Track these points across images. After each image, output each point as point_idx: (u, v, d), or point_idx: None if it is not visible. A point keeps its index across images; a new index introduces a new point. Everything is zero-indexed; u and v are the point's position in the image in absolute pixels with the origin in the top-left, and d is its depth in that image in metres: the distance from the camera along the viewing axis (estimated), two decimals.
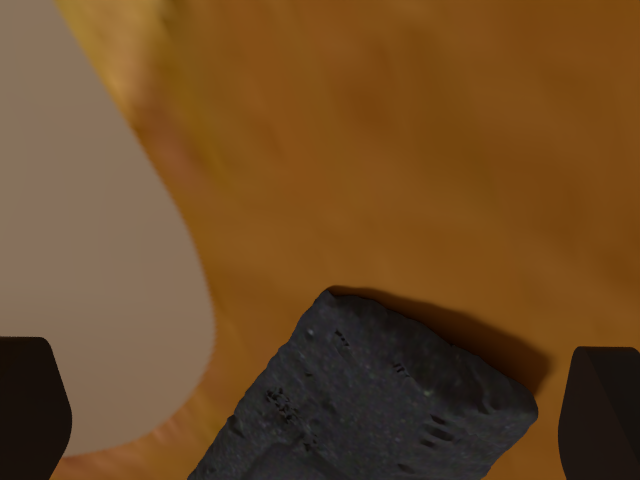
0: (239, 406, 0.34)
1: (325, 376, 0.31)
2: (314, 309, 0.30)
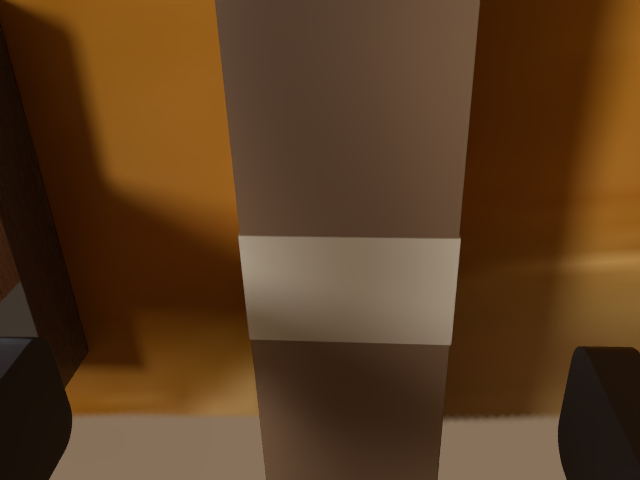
0: None
1: None
2: None
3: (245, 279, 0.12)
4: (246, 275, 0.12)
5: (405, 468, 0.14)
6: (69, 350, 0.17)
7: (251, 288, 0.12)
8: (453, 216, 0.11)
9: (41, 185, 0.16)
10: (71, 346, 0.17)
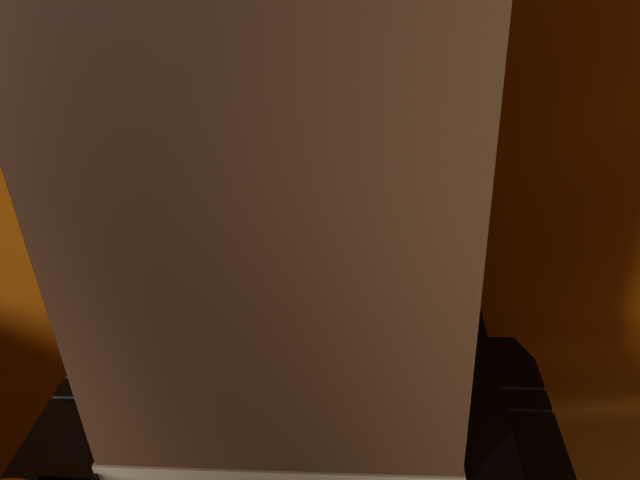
0: None
1: None
2: None
3: None
4: None
5: None
6: None
7: None
8: (453, 447, 0.06)
9: None
10: None
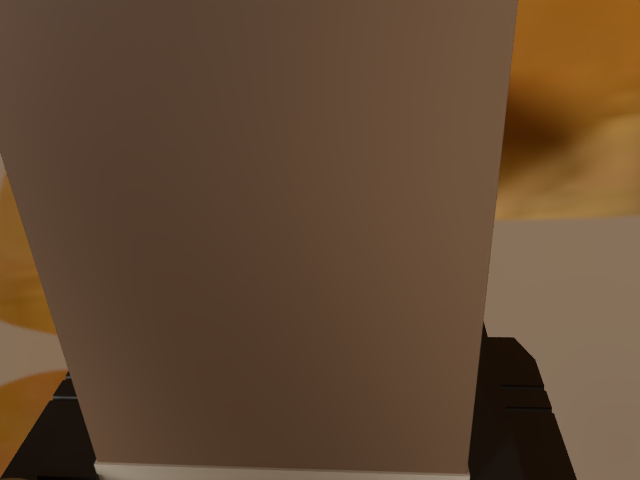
0: None
1: None
2: None
3: None
4: None
5: None
6: None
7: None
8: (457, 444, 0.06)
9: None
10: None
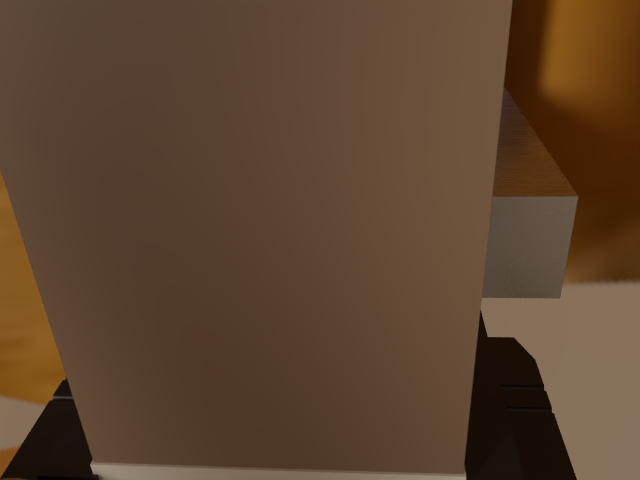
0: None
1: None
2: None
3: None
4: None
5: None
6: None
7: None
8: (453, 444, 0.06)
9: None
10: None
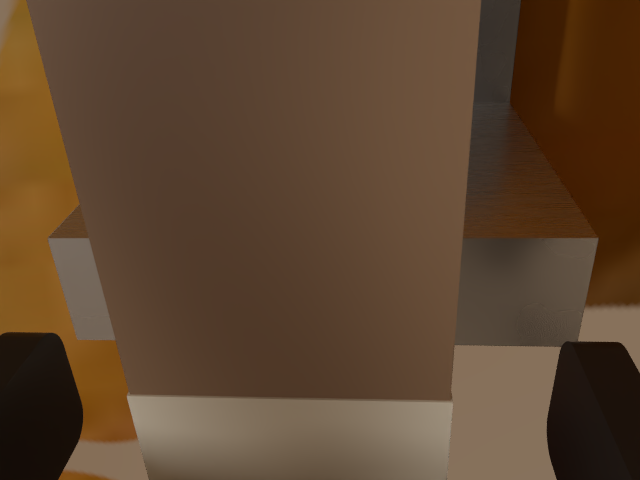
0: None
1: None
2: None
3: (145, 449, 0.08)
4: (145, 444, 0.08)
5: None
6: None
7: (154, 460, 0.08)
8: (441, 373, 0.07)
9: None
10: None
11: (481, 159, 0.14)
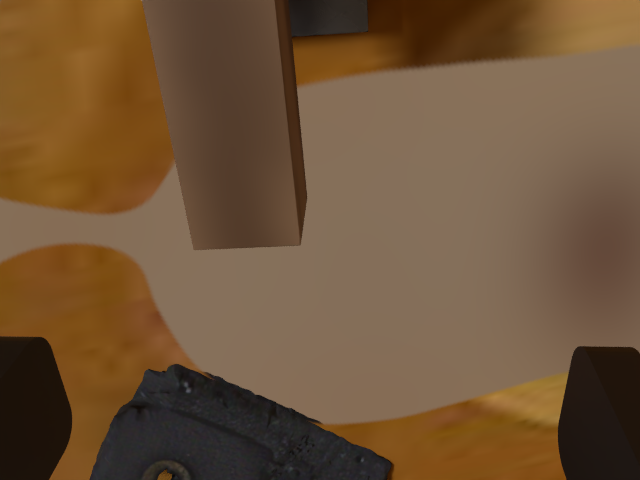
0: (286, 415, 0.46)
1: (334, 474, 0.48)
2: (377, 459, 0.48)
3: None
4: None
5: (263, 109, 0.20)
6: None
7: None
8: None
9: None
10: None
11: None
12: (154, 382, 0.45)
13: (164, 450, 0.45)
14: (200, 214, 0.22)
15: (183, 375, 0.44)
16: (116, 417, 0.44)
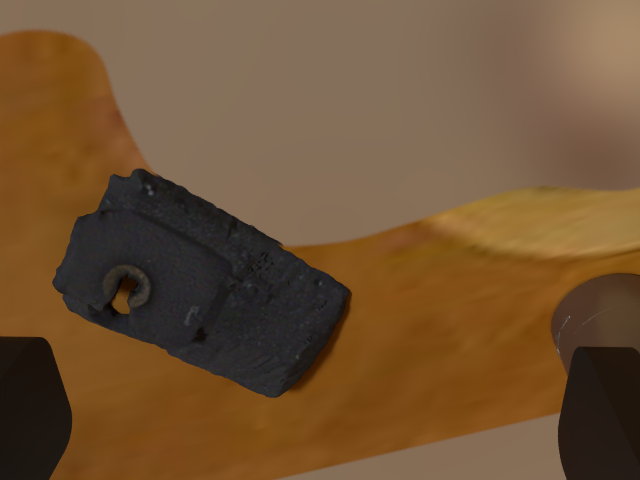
0: (247, 230, 0.47)
1: (292, 295, 0.49)
2: (335, 284, 0.49)
3: None
4: None
5: None
6: None
7: None
8: None
9: None
10: None
11: None
12: (119, 188, 0.46)
13: (126, 254, 0.46)
14: None
15: (146, 179, 0.45)
16: (80, 217, 0.46)
